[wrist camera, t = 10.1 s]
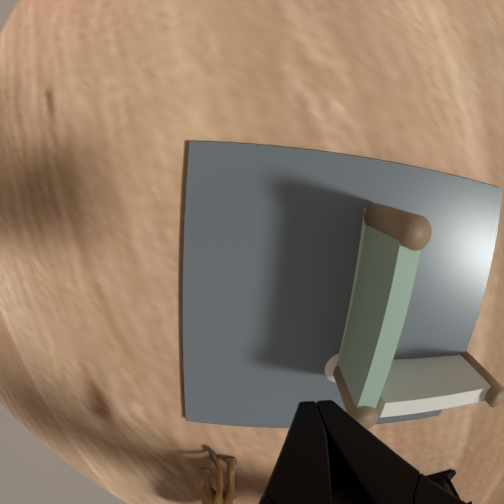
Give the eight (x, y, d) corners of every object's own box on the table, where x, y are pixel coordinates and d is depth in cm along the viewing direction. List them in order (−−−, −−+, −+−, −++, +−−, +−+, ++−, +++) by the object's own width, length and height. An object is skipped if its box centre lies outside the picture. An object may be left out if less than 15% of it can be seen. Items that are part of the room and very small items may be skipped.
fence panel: (352, 380, 21) (373, 429, 16) (330, 380, 21) (348, 431, 16) (389, 205, 18) (434, 217, 13) (365, 201, 18) (404, 212, 13)
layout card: (500, 188, 18) (503, 188, 18) (437, 413, 23) (438, 415, 22) (190, 141, 18) (189, 140, 17) (186, 418, 22) (185, 421, 22)
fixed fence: (470, 349, 21) (509, 387, 15) (464, 366, 22) (500, 405, 16) (362, 356, 21) (390, 408, 15) (357, 374, 21) (382, 428, 16)
